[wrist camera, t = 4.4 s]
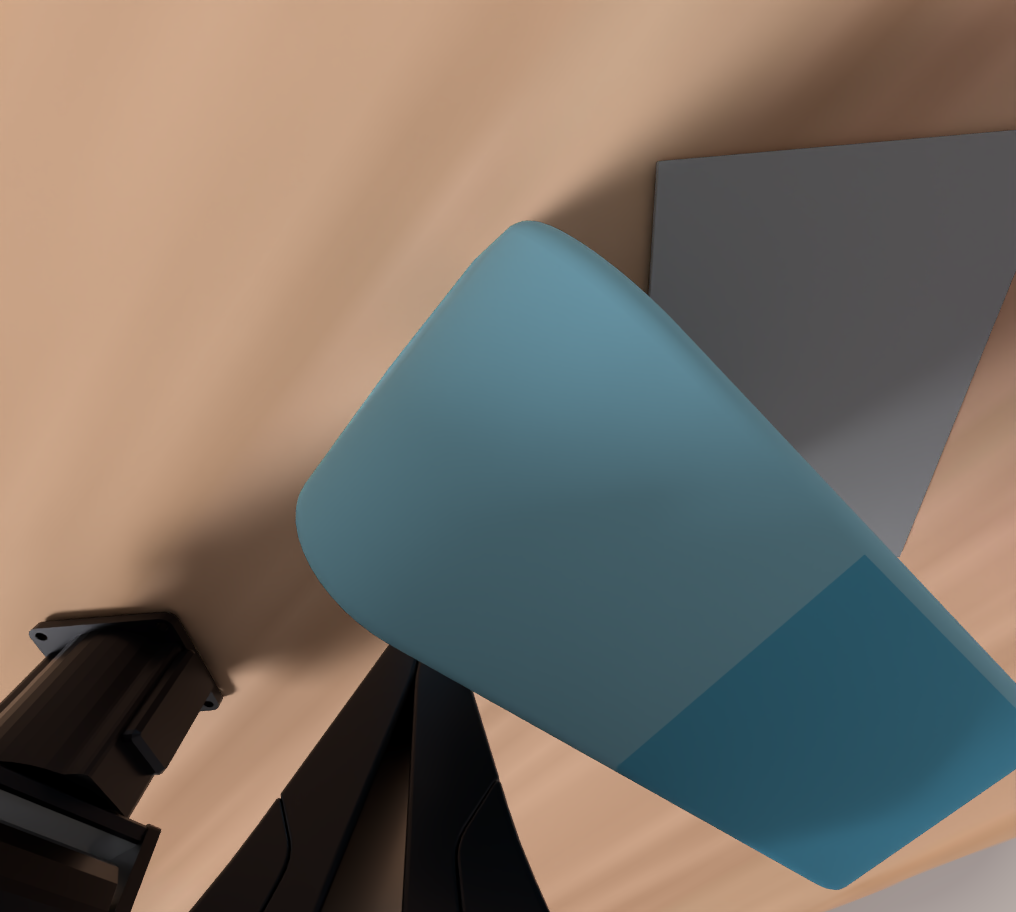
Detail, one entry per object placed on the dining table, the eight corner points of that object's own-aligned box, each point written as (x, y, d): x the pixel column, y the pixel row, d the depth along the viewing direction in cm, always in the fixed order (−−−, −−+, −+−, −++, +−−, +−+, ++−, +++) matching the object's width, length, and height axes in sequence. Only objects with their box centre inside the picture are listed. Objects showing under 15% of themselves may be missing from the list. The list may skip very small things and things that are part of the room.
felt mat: (631, 575, 21) (632, 578, 21) (657, 161, 14) (658, 161, 14) (896, 553, 21) (899, 556, 21) (1067, 125, 14) (1075, 124, 13)
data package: (390, 365, 16) (237, 575, 5) (476, 255, 15) (553, 178, 4) (629, 553, 19) (869, 922, 8) (709, 474, 19) (1102, 769, 7)
